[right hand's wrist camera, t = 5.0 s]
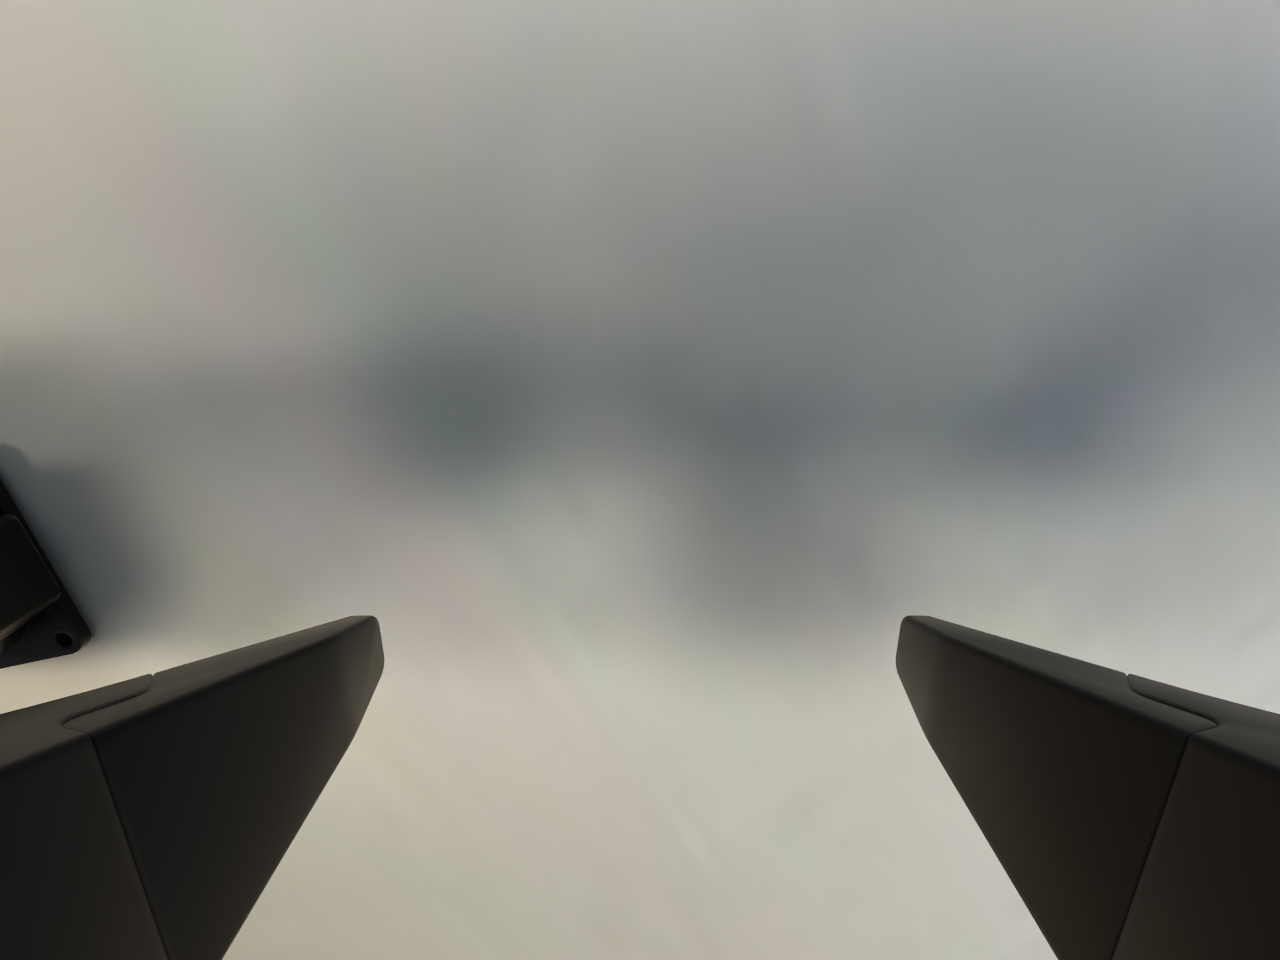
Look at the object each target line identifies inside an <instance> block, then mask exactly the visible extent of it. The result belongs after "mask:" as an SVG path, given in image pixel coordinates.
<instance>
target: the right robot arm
mask: <svg viewBox="0 0 1280 960" xmlns="http://www.w3.org/2000/svg"><path fill="white" fill-rule="evenodd" d="M67 634H68V635H69V636H70V637H71V638H70V637H69V636H68V635H67ZM90 640H91V633H90V630H89V628H88V626H87V625H86V623H85V621H84V620H83V618H82V616H81V614H80V613H79V611H78V609H77V608H76V606H75V604H74V603H73V601H72V599H71V598H70V596H69V594H68V592H67V591H66V589H65V587H64V586H63V584H62V582H61V581H60V579H59V577H58V576H57V574H56V572H55V570H54V569H53V567H52V565H51V564H50V562H49V560H48V559H47V557H46V555H45V554H44V552H43V550H42V549H41V547H40V545H39V543H38V542H37V540H36V538H35V537H34V535H33V533H32V532H31V530H30V528H29V527H28V525H27V523H26V521H25V520H24V518H23V516H22V515H21V513H20V511H19V510H18V508H17V506H16V505H15V503H14V501H13V499H12V498H11V496H10V494H9V493H8V491H7V489H6V488H5V486H4V484H3V483H2V481H1V479H0V669H1V668H6V667H10V666H15V665H20V664H25V663H30V662H34V661H39V660H44V659H49V658H54V657H58V656H63V655H68V654H73V653H75V652H77V651H79V650H80V649H81V648H83V647H84V646H85V645H87V644H88V643H89V641H90ZM383 668H384V653H383V647H382V640H381V634H380V627H379V623H378V620H377V619H376V617H374V616H350V617H346V618H343V619H339V620H336V621H333V622H329V623H326V624H322V625H319V626H315V627H312V628H308V629H305V630H302V631H298V632H295V633H291V634H288V635H284V636H281V637H278V638H274V639H271V640H267V641H264V642H260V643H257V644H253V645H250V646H247V647H243V648H240V649H236V650H233V651H229V652H226V653H222V654H219V655H216V656H212V657H209V658H205V659H202V660H198V661H195V662H191V663H188V664H185V665H181V666H178V667H174V668H171V669H167V670H164V671H160V672H157V673H155V674H154V676H153V675H151V674H147V675H144V676H140V677H137V678H133V679H130V680H126V681H123V682H119V683H116V684H112V685H108V686H105V687H101V688H98V689H94V690H91V691H87V692H83V693H80V694H76V695H72V696H68V697H65V698H61V699H57V700H53V701H50V702H46V703H42V704H38V705H35V706H31V707H27V708H23V709H19V710H15V711H11V712H7V713H3V714H0V960H222V959H223V957H224V955H225V953H226V952H227V950H228V948H229V947H230V945H231V943H232V942H233V940H234V938H235V937H236V935H237V933H238V932H239V930H240V928H241V927H242V925H243V923H244V922H245V920H246V918H247V917H248V915H249V913H250V911H251V910H252V908H253V906H254V905H255V903H256V901H257V900H258V898H259V896H260V895H261V893H262V891H263V890H264V888H265V886H266V885H267V883H268V881H269V880H270V878H271V876H272V875H273V873H274V871H275V869H276V868H277V866H278V864H279V863H280V861H281V859H282V858H283V856H284V854H285V853H286V851H287V849H288V848H289V846H290V844H291V843H292V841H293V839H294V838H295V836H296V834H297V833H298V831H299V829H300V828H301V826H302V824H303V822H304V821H305V819H306V817H307V816H308V814H309V812H310V811H311V809H312V807H313V806H314V804H315V802H316V801H317V799H318V797H319V796H320V794H321V792H322V791H323V789H324V787H325V786H326V784H327V782H328V780H329V779H330V777H331V775H332V774H333V772H334V770H335V769H336V767H337V765H338V764H339V762H340V760H341V759H342V757H343V755H344V754H345V752H346V750H347V749H348V747H349V745H350V743H351V741H352V740H353V738H354V736H355V734H356V732H357V730H358V728H359V725H360V723H361V721H362V719H363V716H364V714H365V712H366V709H367V707H368V705H369V702H370V700H371V698H372V696H373V693H374V691H375V689H376V686H377V684H378V682H379V679H380V677H381V675H382V672H383ZM896 668H897V672H898V675H899V677H900V679H901V682H902V684H903V686H904V689H905V691H906V693H907V696H908V698H909V700H910V702H911V705H912V707H913V709H914V712H915V714H916V716H917V719H918V721H919V723H920V725H921V728H922V730H923V732H924V734H925V736H926V738H927V740H928V741H929V743H930V745H931V747H932V749H933V750H934V752H935V754H936V755H937V757H938V759H939V760H940V762H941V764H942V765H943V767H944V769H945V770H946V772H947V774H948V775H949V777H950V779H951V780H952V782H953V784H954V786H955V787H956V789H957V791H958V792H959V794H960V796H961V797H962V799H963V801H964V802H965V804H966V806H967V807H968V809H969V811H970V812H971V814H972V816H973V817H974V819H975V821H976V822H977V824H978V826H979V828H980V829H981V831H982V833H983V834H984V836H985V838H986V839H987V841H988V843H989V844H990V846H991V848H992V849H993V851H994V853H995V854H996V856H997V858H998V859H999V861H1000V863H1001V864H1002V866H1003V868H1004V869H1005V871H1006V873H1007V875H1008V876H1009V878H1010V880H1011V881H1012V883H1013V885H1014V886H1015V888H1016V890H1017V891H1018V893H1019V895H1020V896H1021V898H1022V900H1023V901H1024V903H1025V905H1026V906H1027V908H1028V910H1029V911H1030V913H1031V915H1032V917H1033V918H1034V920H1035V922H1036V923H1037V925H1038V927H1039V928H1040V930H1041V932H1042V933H1043V935H1044V937H1045V938H1046V940H1047V942H1048V943H1049V945H1050V947H1051V948H1052V950H1053V952H1054V953H1055V955H1056V957H1057V959H1058V960H1280V714H1277V713H1273V712H1269V711H1265V710H1261V709H1257V708H1253V707H1249V706H1246V705H1242V704H1238V703H1234V702H1230V701H1227V700H1223V699H1219V698H1215V697H1212V696H1208V695H1204V694H1200V693H1197V692H1193V691H1189V690H1186V689H1182V688H1179V687H1175V686H1172V685H1168V684H1164V683H1161V682H1157V681H1154V680H1150V679H1147V678H1143V677H1140V676H1136V675H1133V674H1129V675H1127V676H1126V674H1125V673H1123V672H1120V671H1116V670H1113V669H1109V668H1106V667H1102V666H1099V665H1095V664H1092V663H1089V662H1085V661H1082V660H1078V659H1075V658H1071V657H1068V656H1064V655H1061V654H1058V653H1054V652H1051V651H1047V650H1044V649H1040V648H1037V647H1033V646H1030V645H1027V644H1023V643H1020V642H1016V641H1013V640H1009V639H1006V638H1002V637H999V636H996V635H992V634H989V633H985V632H982V631H978V630H975V629H972V628H968V627H965V626H961V625H958V624H954V623H951V622H947V621H944V620H941V619H937V618H934V617H930V616H906V617H904V619H903V620H902V623H901V627H900V634H899V640H898V647H897V653H896Z"/></svg>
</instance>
